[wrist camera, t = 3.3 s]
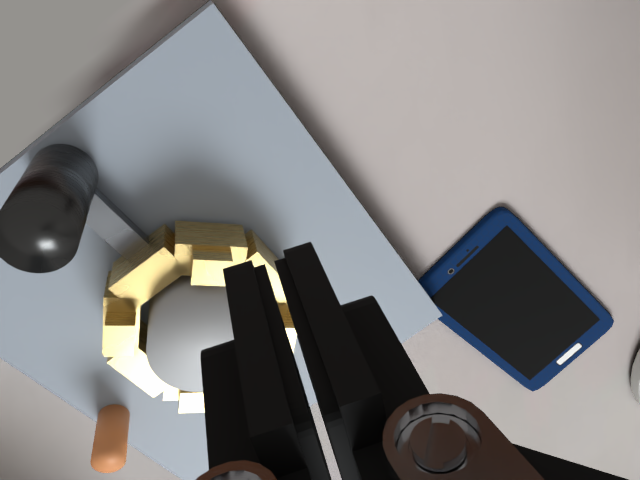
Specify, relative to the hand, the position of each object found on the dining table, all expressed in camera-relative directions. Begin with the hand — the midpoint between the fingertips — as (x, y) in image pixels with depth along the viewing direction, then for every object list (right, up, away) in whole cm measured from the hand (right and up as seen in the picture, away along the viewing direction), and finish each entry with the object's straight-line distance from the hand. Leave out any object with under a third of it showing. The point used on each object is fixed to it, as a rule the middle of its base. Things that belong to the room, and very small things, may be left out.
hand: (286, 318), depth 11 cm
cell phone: (+13, -2, +25) cm, 28 cm away
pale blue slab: (-6, -1, +18) cm, 19 cm away
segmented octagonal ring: (-7, 0, +15) cm, 17 cm away
